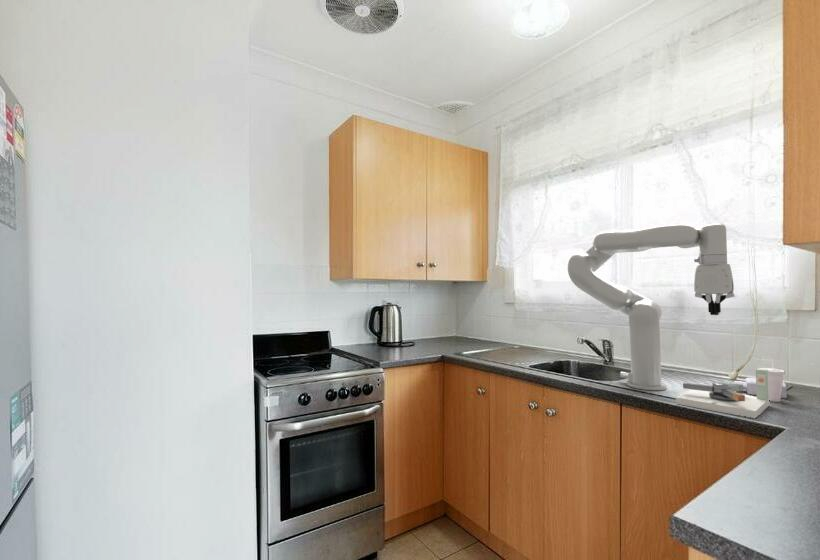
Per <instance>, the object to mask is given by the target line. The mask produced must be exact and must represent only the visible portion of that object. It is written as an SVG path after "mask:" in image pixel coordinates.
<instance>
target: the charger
mask: <svg viewBox="0 0 820 560" xmlns="http://www.w3.org/2000/svg"><path fill="white" fill-rule="evenodd" d="M744 380H745V381H741V380H734V381H733V382H726V384H729V385H732V384H741V385H743V390H745V391H746V394H747V395H748V394H749V395H750V394H751V395H750V396H757V391H756V377H746V378H745V379H744ZM786 384H787V383H785V382H784V381H783V384H782V392H781V399H784V400H787V399H788V398H787V397H788V396H787V393H788V392H787V385H786Z"/></svg>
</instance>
